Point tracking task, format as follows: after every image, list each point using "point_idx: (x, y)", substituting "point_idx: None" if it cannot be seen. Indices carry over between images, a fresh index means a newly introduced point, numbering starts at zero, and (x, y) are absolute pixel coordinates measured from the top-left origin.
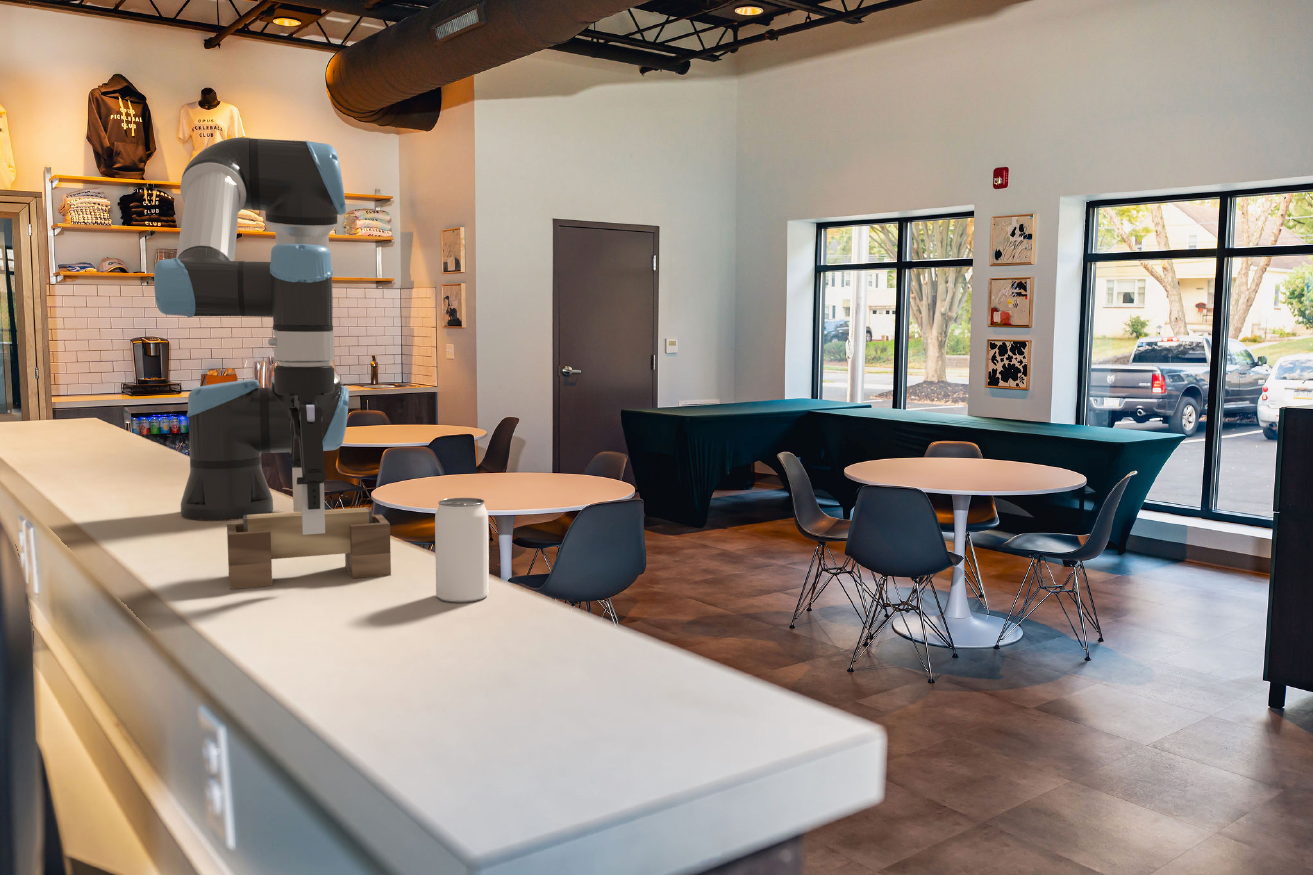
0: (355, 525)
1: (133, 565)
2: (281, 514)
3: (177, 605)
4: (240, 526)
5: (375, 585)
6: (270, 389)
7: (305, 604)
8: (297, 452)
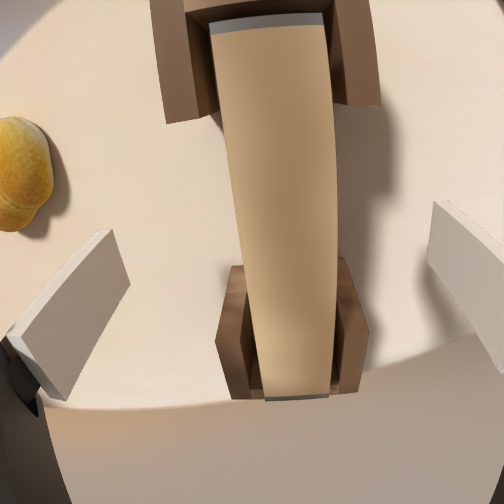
0: (367, 88)
1: (153, 404)
2: (288, 335)
3: (397, 359)
4: (248, 380)
5: (414, 65)
6: None
7: (485, 207)
8: (47, 456)
